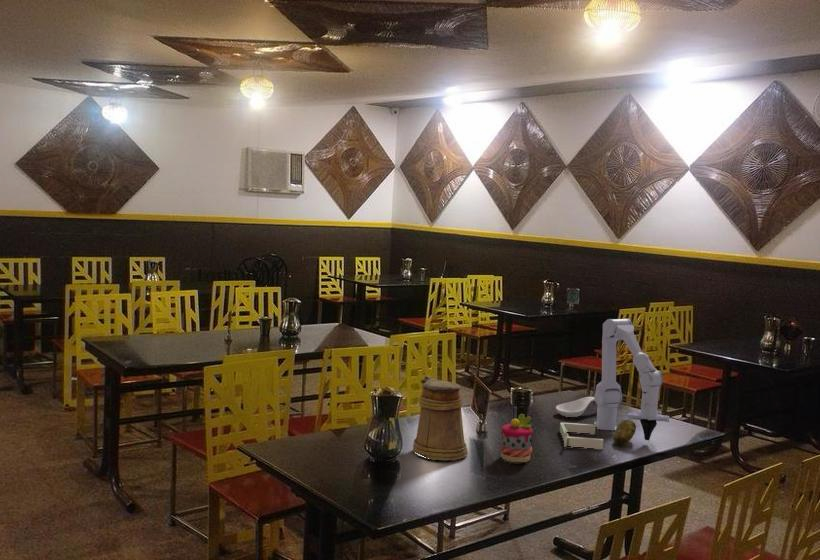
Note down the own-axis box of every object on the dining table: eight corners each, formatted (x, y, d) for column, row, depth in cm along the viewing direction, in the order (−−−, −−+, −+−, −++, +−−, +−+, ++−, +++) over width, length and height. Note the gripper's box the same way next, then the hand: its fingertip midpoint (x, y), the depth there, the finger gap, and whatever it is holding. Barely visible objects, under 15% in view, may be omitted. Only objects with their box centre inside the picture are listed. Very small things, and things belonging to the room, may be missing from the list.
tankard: (431, 466, 243) (435, 391, 240) (396, 445, 263) (399, 375, 261) (477, 458, 252) (481, 386, 250) (440, 439, 272) (443, 371, 270)
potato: (603, 443, 275) (605, 422, 274) (622, 437, 284) (624, 416, 283) (623, 449, 269) (625, 427, 268) (642, 442, 278) (644, 421, 277)
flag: (563, 447, 268) (564, 429, 267) (566, 447, 268) (567, 429, 267) (564, 450, 265) (565, 432, 264) (567, 450, 265) (568, 432, 264)
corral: (559, 431, 288) (560, 422, 288) (594, 433, 287) (594, 424, 287) (565, 447, 269) (566, 437, 268) (602, 449, 268) (603, 440, 267)
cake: (523, 466, 246) (526, 422, 245) (494, 460, 251) (497, 416, 250) (535, 458, 255) (538, 415, 253) (507, 452, 260) (509, 410, 259)
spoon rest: (568, 421, 303) (569, 404, 302) (549, 414, 313) (550, 397, 312) (611, 416, 314) (612, 399, 314) (592, 408, 325) (593, 392, 324)
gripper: (631, 404, 271) (629, 441, 272) (672, 407, 270) (669, 444, 271) (627, 400, 278) (625, 435, 279) (667, 402, 277) (664, 438, 278)
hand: (646, 439), depth 276 cm, fingers closed
